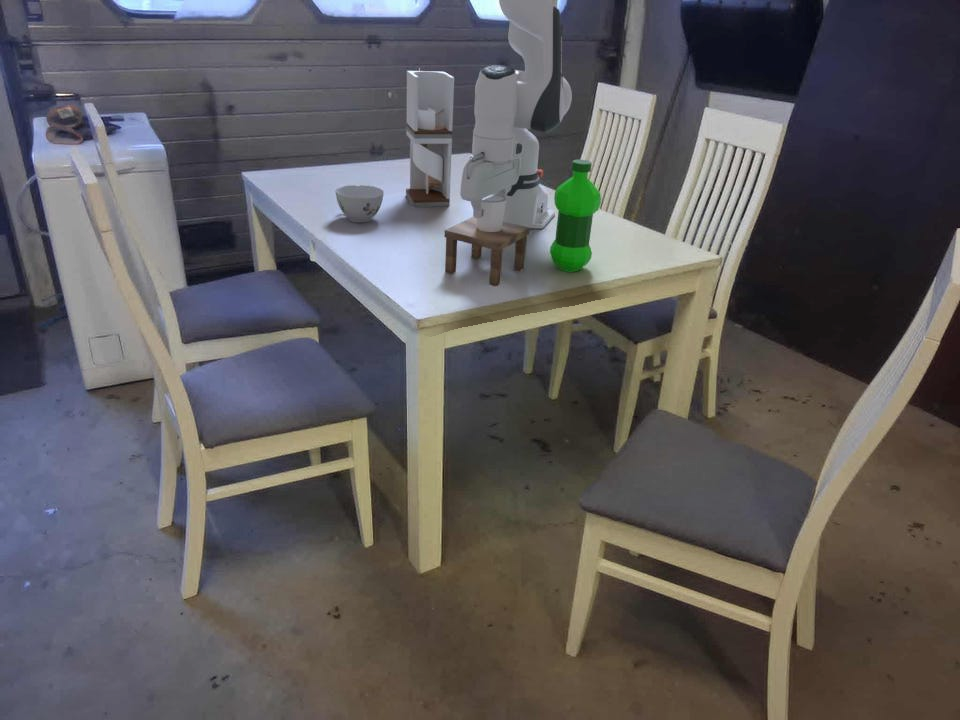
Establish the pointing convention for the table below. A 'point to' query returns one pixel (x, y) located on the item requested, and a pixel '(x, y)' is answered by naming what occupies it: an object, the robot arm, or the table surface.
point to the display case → (429, 136)
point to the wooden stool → (486, 245)
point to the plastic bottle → (574, 218)
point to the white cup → (492, 213)
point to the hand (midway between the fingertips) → (488, 212)
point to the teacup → (359, 201)
